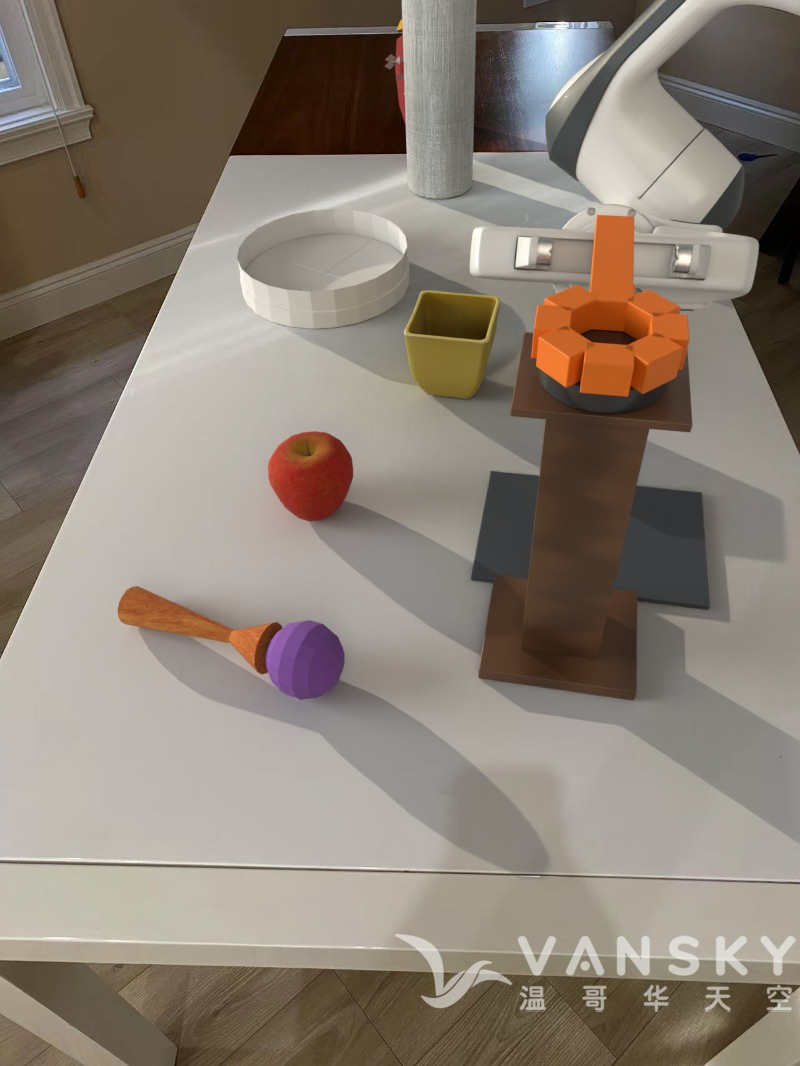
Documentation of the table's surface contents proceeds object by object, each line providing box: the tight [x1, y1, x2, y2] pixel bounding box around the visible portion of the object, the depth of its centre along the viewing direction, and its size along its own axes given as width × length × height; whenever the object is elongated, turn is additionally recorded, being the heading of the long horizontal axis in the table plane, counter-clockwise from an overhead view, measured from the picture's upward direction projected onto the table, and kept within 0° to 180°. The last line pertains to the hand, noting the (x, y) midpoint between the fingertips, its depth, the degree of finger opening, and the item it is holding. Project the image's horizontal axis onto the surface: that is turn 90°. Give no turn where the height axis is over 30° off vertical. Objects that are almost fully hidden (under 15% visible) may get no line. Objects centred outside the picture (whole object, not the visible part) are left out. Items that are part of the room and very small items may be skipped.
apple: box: [267, 430, 354, 522], centre depth 77 cm, size 8×8×8 cm
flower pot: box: [403, 290, 502, 400], centre depth 89 cm, size 9×9×9 cm
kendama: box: [117, 585, 346, 700], centre depth 66 cm, size 6×6×20 cm
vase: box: [401, 0, 478, 200], centre depth 118 cm, size 10×10×27 cm
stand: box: [478, 329, 693, 701], centre depth 58 cm, size 12×10×28 cm
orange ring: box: [531, 215, 690, 397], centre depth 50 cm, size 8×18×2 cm, turn 169°
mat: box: [470, 470, 711, 611], centre depth 75 cm, size 20×14×1 cm
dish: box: [236, 208, 411, 330], centre depth 107 cm, size 22×22×5 cm
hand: (613, 254), depth 54 cm, fingers open, 8 cm apart
